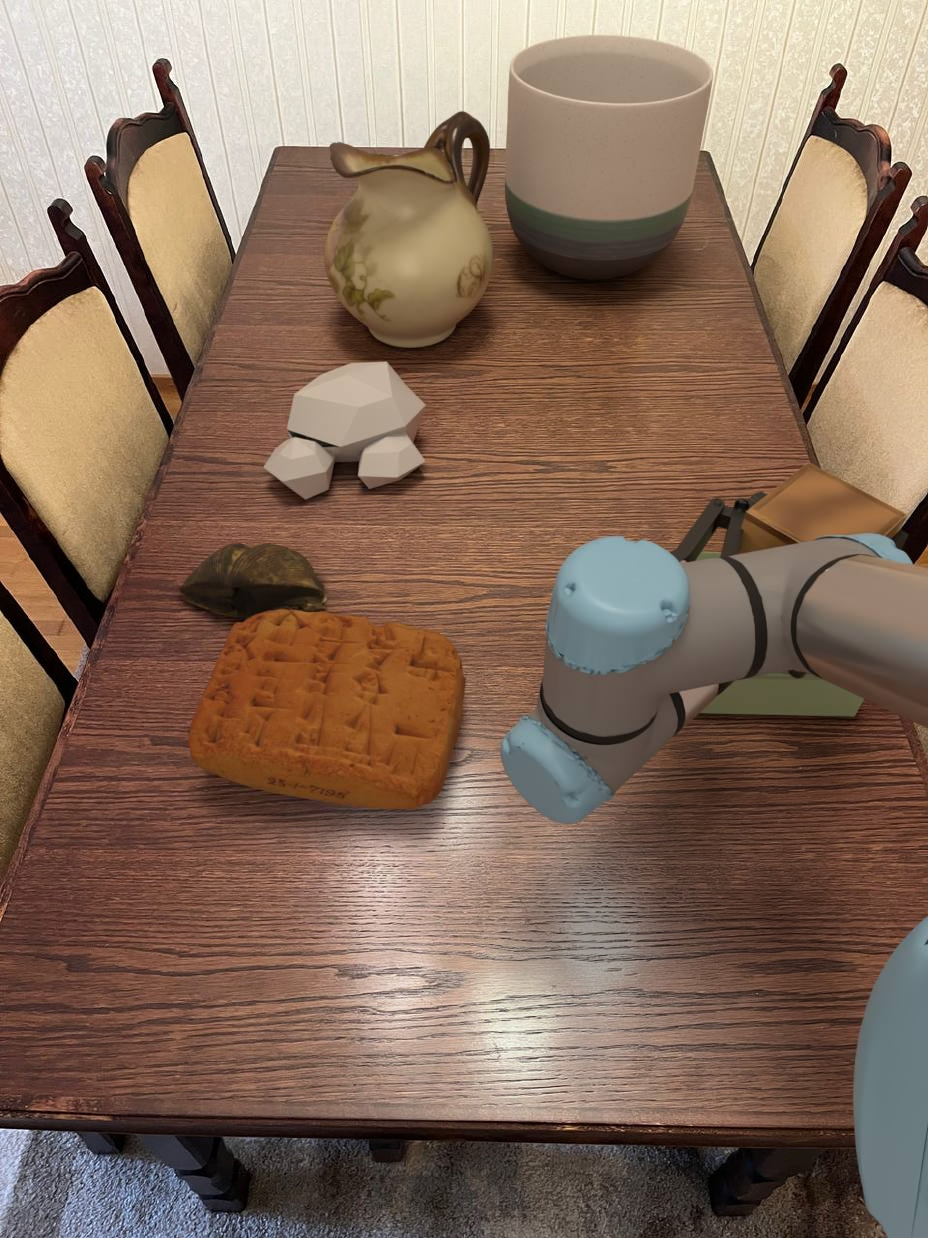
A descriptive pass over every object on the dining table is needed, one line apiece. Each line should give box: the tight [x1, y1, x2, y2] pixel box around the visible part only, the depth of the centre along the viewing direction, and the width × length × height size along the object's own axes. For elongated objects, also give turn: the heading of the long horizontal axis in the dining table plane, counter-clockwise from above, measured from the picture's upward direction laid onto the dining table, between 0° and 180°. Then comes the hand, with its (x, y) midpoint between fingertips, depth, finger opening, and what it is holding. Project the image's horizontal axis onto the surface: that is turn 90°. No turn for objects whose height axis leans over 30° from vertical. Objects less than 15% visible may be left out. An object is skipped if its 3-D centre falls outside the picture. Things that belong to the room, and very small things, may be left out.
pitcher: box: [323, 110, 495, 349], centre depth 118 cm, size 22×24×25 cm
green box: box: [695, 551, 865, 717], centre depth 85 cm, size 15×15×6 cm
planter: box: [504, 34, 714, 281], centre depth 129 cm, size 27×27×27 cm
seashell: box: [179, 542, 328, 620], centre depth 90 cm, size 16×9×7 cm, turn 75°
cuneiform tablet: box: [187, 609, 466, 810], centre depth 78 cm, size 22×17×8 cm
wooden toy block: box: [739, 461, 908, 554], centre depth 75 cm, size 9×9×9 cm
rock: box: [263, 361, 426, 500], centre depth 104 cm, size 18×20×10 cm
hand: (845, 514), depth 76 cm, fingers closed on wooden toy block, 9 cm apart
